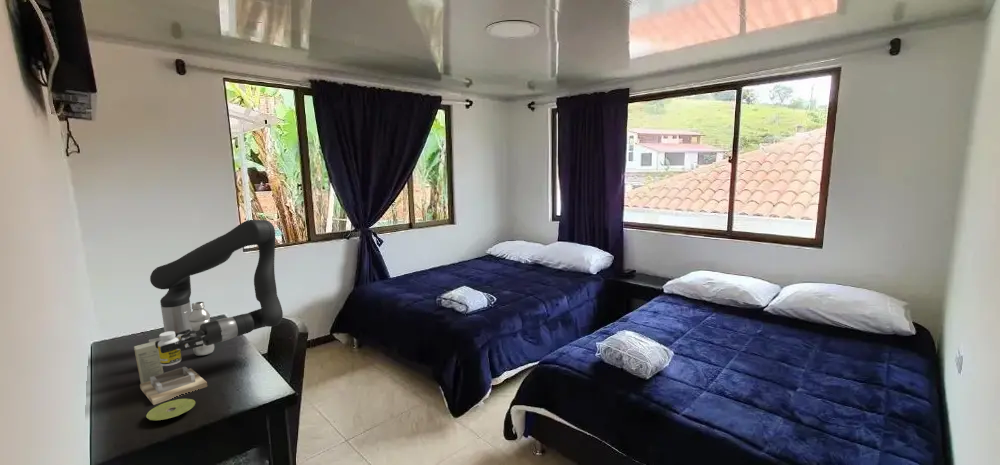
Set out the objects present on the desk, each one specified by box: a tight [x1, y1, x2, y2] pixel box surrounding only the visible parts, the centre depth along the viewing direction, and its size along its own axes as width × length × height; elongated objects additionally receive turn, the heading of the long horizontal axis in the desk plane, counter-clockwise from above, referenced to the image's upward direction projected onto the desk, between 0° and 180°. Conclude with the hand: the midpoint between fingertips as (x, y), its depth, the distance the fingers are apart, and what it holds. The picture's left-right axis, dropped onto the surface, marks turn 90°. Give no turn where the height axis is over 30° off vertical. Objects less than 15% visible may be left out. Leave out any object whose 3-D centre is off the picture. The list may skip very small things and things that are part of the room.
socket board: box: [139, 366, 208, 406], centre depth 141 cm, size 16×14×4 cm
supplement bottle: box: [158, 331, 182, 367], centre depth 139 cm, size 5×5×10 cm
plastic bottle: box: [189, 301, 215, 357], centre depth 165 cm, size 6×7×20 cm
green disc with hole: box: [145, 398, 196, 421], centre depth 125 cm, size 11×11×2 cm
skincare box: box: [133, 341, 165, 384], centre depth 146 cm, size 6×4×12 cm
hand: (158, 347), depth 137 cm, fingers closed on supplement bottle, 5 cm apart
